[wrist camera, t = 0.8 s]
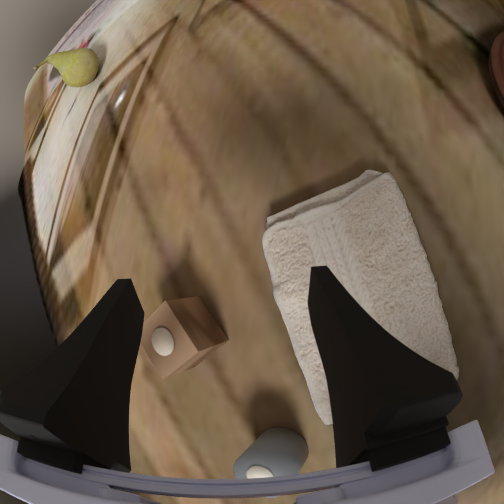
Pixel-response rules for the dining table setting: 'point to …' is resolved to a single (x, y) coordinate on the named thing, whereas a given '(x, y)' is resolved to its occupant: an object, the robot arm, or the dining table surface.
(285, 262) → the washcloth
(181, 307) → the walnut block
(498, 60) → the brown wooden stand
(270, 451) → the slate cylinder
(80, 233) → the dining table surface
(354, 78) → the dining table surface
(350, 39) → the dining table surface
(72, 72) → the fruit
